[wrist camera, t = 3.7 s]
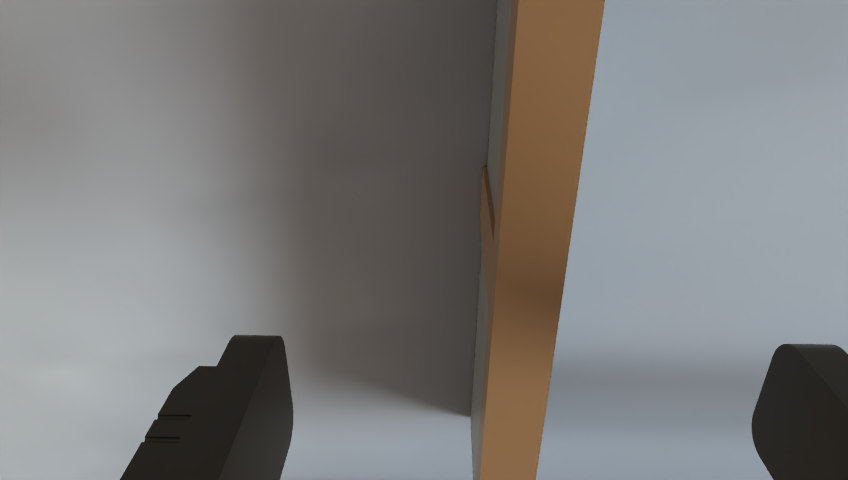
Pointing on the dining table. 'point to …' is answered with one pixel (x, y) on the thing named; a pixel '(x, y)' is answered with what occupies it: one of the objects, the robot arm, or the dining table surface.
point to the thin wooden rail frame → (528, 221)
